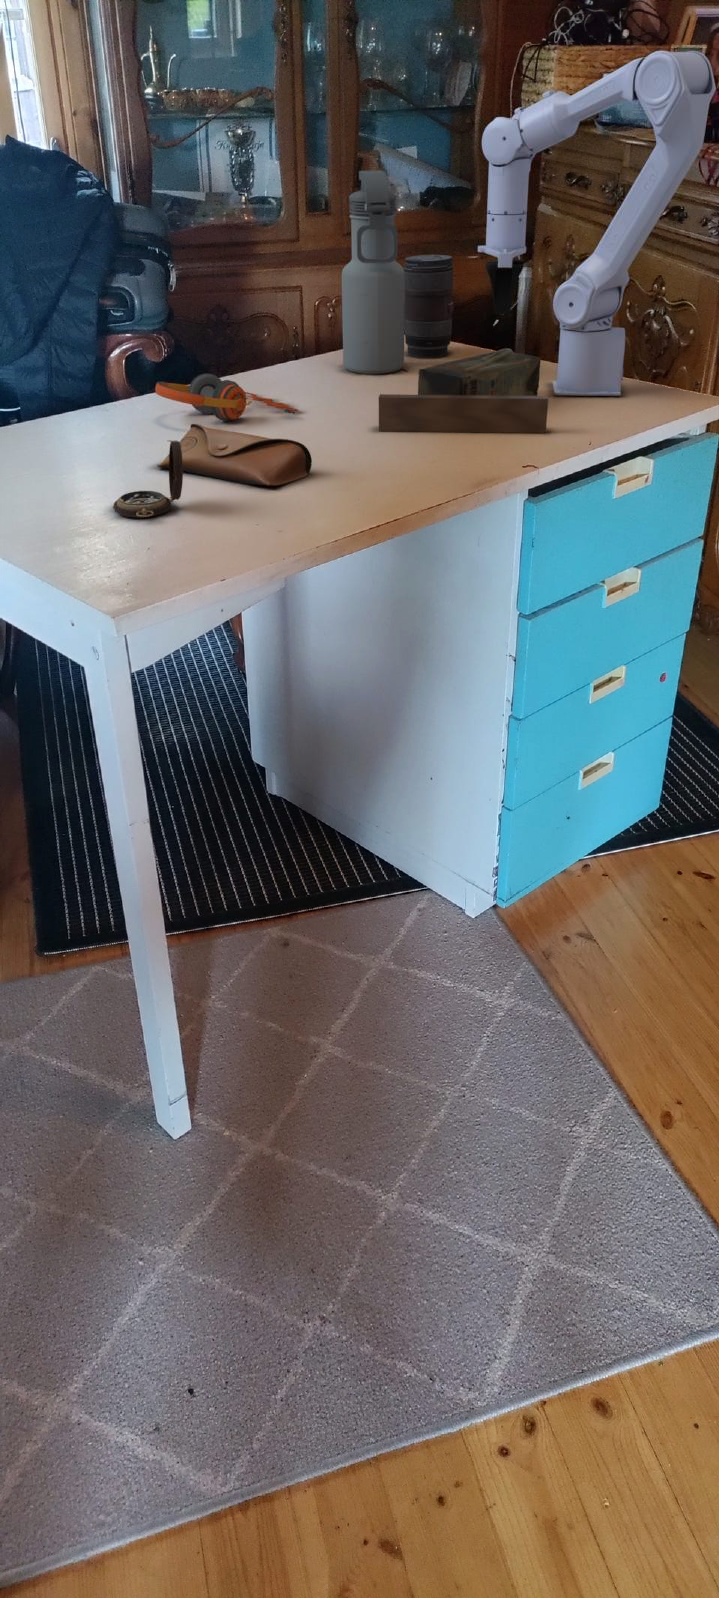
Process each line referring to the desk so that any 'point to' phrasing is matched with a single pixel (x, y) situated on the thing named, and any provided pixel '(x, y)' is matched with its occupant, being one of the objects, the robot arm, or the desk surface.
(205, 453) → the sunglasses case
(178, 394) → the headphones
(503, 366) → the beverage carton
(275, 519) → the desk surface
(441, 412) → the backstop rail
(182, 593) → the desk surface
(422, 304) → the camera lens
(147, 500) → the compass
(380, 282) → the water bottle
